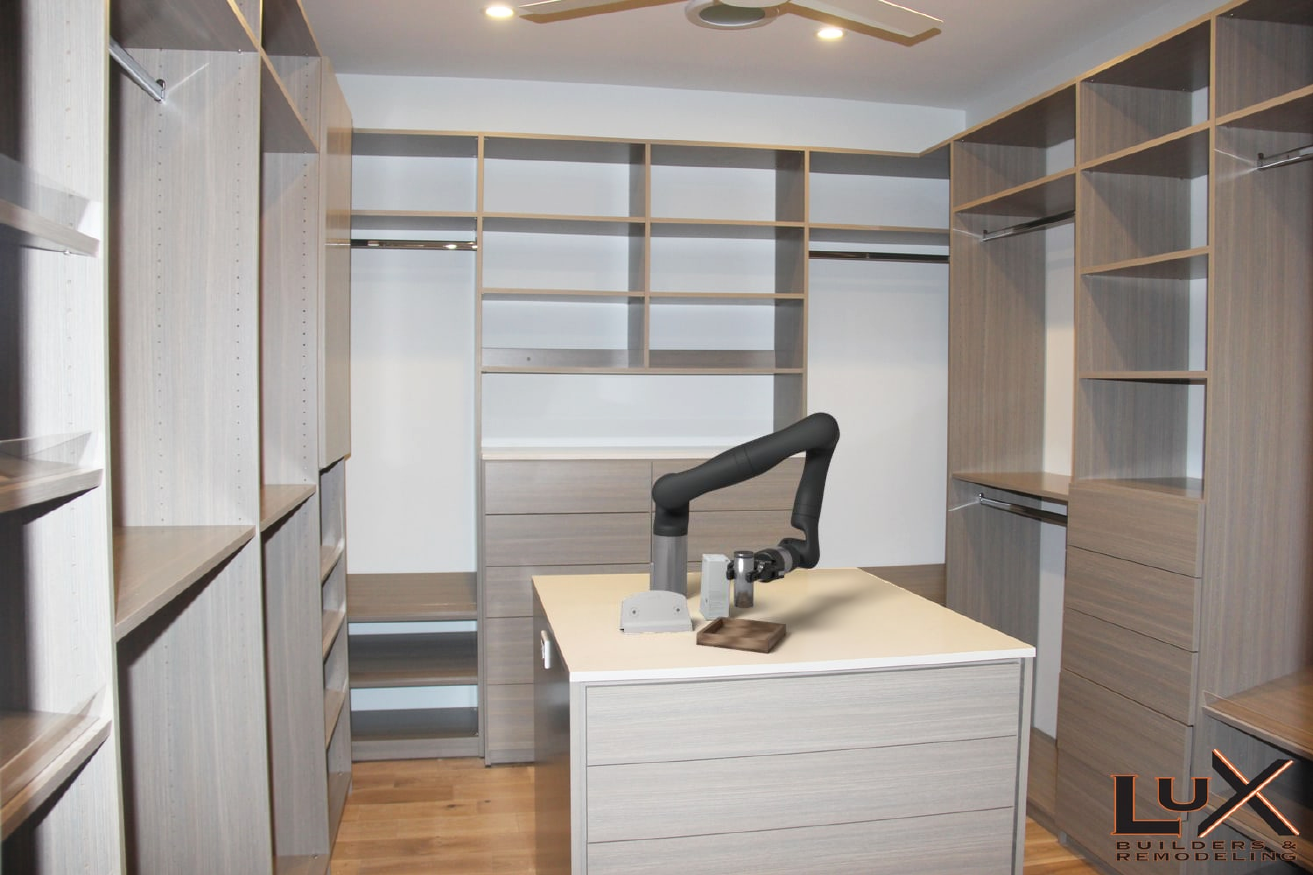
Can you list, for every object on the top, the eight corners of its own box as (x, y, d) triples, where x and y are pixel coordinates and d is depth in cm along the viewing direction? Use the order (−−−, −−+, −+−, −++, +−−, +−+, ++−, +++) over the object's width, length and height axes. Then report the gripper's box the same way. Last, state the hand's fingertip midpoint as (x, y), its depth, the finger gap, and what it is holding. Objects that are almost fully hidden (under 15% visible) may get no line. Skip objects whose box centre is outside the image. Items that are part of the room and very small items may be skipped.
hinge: (623, 634, 205) (620, 590, 208) (619, 636, 209) (616, 593, 212) (694, 631, 209) (690, 587, 212) (688, 632, 213) (685, 590, 216)
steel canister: (729, 606, 201) (730, 552, 201) (738, 602, 205) (739, 549, 204) (748, 609, 199) (748, 555, 198) (757, 604, 203) (757, 551, 202)
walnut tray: (696, 644, 198) (696, 633, 198) (719, 626, 213) (719, 616, 213) (767, 653, 192) (767, 641, 192) (785, 634, 207) (785, 623, 207)
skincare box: (699, 612, 226) (700, 553, 225) (722, 611, 227) (723, 553, 226) (706, 621, 218) (707, 559, 217) (730, 620, 219) (732, 559, 218)
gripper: (743, 545, 217) (709, 556, 203) (799, 551, 210) (768, 563, 195) (743, 576, 218) (709, 589, 203) (799, 583, 210) (767, 597, 196)
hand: (738, 576), depth 199 cm, fingers closed on steel canister, 4 cm apart
